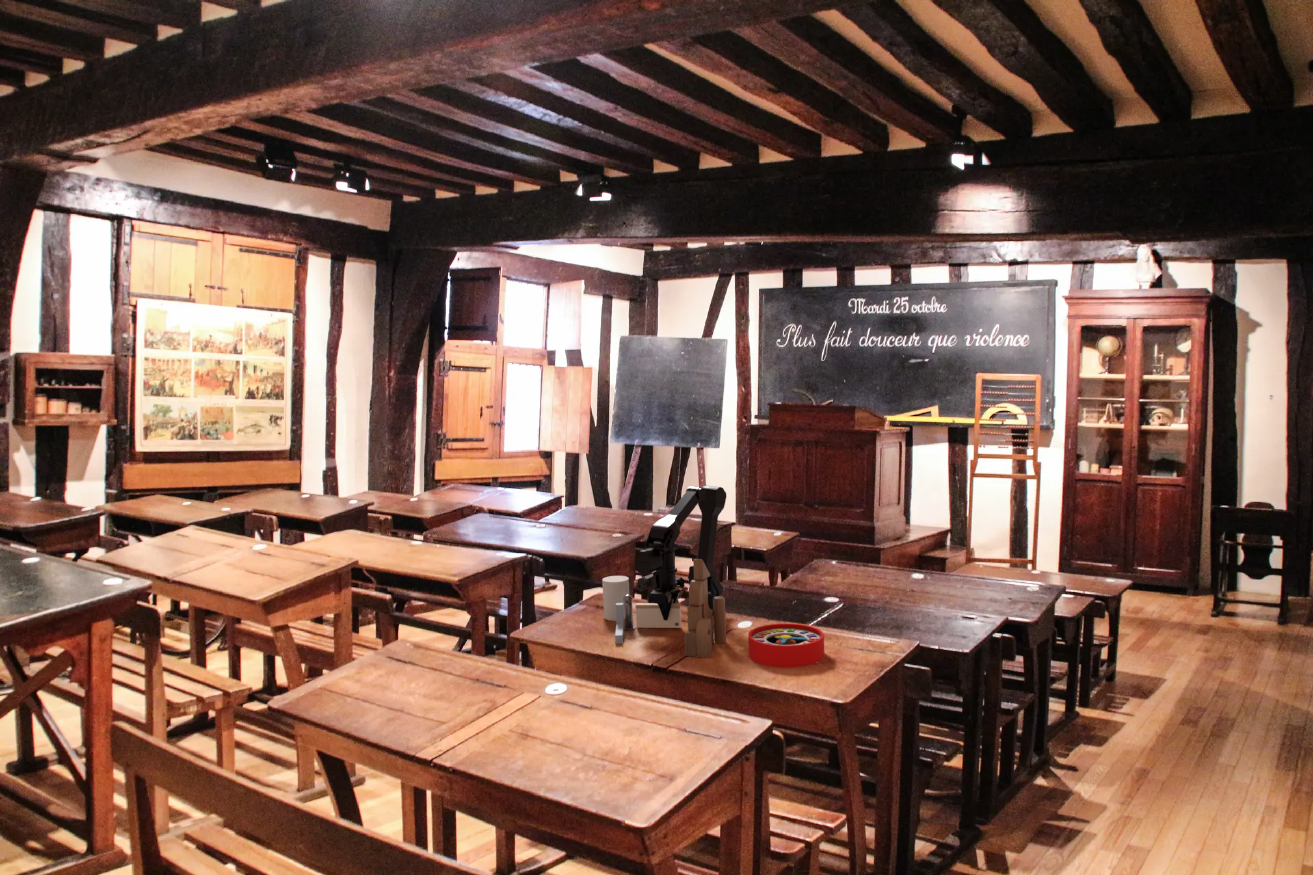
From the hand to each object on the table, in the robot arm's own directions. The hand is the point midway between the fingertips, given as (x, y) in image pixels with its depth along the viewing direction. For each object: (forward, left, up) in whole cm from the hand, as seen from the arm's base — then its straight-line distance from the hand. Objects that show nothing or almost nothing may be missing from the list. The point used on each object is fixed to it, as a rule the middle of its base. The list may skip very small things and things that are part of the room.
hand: (667, 618), depth 287 cm
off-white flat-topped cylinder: (+16, -14, -3) cm, 21 cm away
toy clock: (-31, +28, -4) cm, 42 cm away
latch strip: (+14, +7, -3) cm, 16 cm away
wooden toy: (-10, +20, -3) cm, 23 cm away
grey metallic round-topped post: (+12, -2, -3) cm, 12 cm away
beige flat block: (+3, -1, -3) cm, 4 cm away
